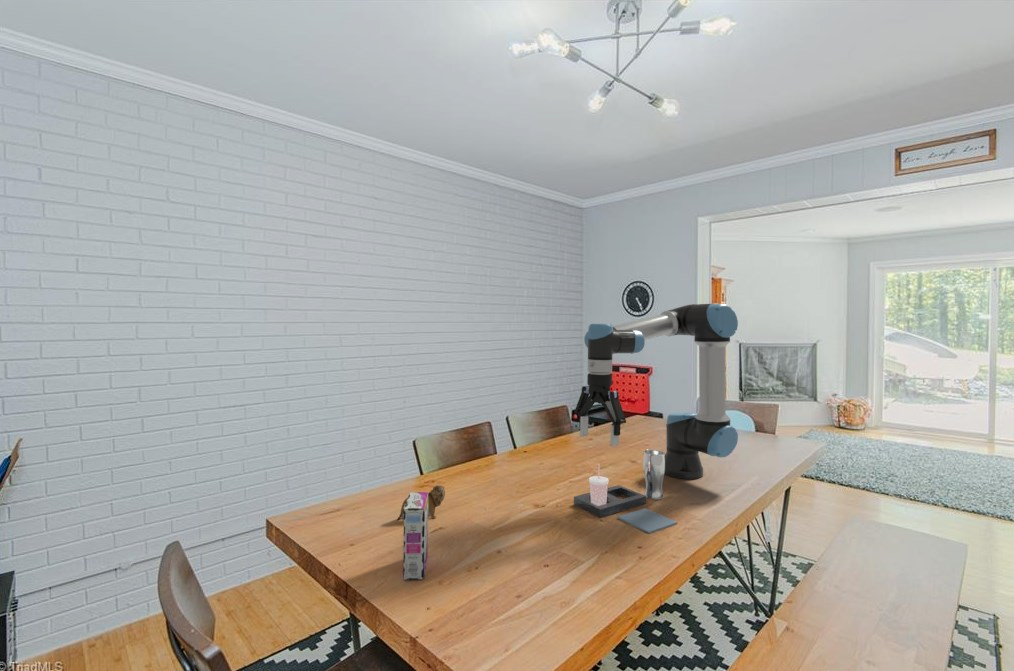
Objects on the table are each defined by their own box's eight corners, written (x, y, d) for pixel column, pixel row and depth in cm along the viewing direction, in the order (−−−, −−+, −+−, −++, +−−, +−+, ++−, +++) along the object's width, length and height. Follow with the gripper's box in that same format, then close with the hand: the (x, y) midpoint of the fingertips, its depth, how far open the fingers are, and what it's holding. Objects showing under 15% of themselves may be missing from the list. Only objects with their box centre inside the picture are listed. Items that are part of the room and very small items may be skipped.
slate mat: (645, 509, 148) (645, 508, 148) (677, 523, 137) (677, 522, 137) (617, 518, 141) (617, 516, 141) (648, 533, 131) (649, 531, 131)
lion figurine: (442, 510, 147) (442, 481, 147) (447, 516, 142) (447, 487, 142) (394, 519, 140) (394, 488, 140) (398, 526, 136) (398, 494, 135)
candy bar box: (425, 580, 107) (425, 508, 107) (402, 581, 107) (402, 509, 106) (429, 555, 119) (429, 491, 118) (408, 556, 118) (408, 491, 118)
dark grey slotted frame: (618, 492, 162) (618, 485, 162) (646, 503, 152) (646, 496, 152) (573, 504, 152) (573, 496, 152) (600, 517, 142) (600, 509, 141)
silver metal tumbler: (665, 501, 154) (666, 455, 154) (643, 499, 156) (644, 454, 155) (663, 493, 161) (663, 449, 161) (642, 492, 163) (642, 448, 162)
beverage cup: (604, 512, 145) (604, 467, 145) (585, 508, 148) (586, 464, 148) (611, 506, 150) (611, 462, 150) (593, 502, 153) (593, 459, 153)
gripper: (564, 370, 156) (564, 434, 157) (620, 378, 135) (619, 451, 136) (582, 368, 160) (581, 431, 161) (639, 376, 139) (637, 448, 140)
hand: (598, 440), depth 148 cm, fingers open, 13 cm apart
